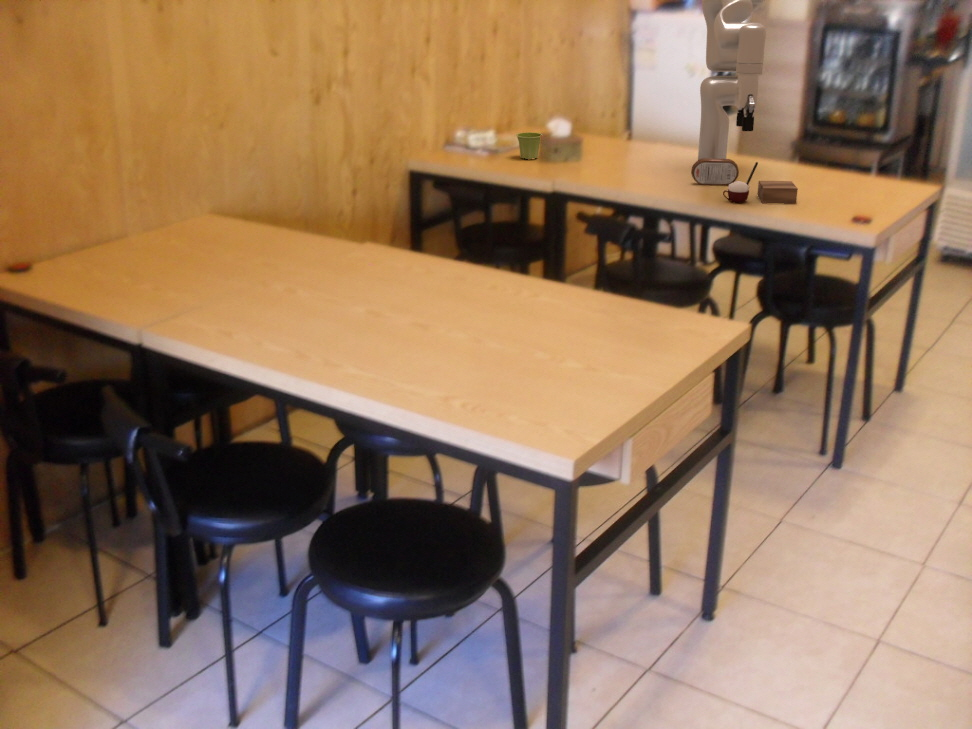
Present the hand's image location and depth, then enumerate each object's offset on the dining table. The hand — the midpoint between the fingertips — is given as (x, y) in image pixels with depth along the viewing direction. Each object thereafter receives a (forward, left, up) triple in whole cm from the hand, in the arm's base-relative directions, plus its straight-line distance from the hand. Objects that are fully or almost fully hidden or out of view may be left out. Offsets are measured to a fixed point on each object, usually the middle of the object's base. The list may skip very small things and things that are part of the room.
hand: (744, 128), depth 308 cm
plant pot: (-62, -65, -22) cm, 92 cm away
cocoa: (+1, 0, -22) cm, 22 cm away
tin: (-22, -4, -22) cm, 31 cm away
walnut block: (-2, +12, -22) cm, 25 cm away
